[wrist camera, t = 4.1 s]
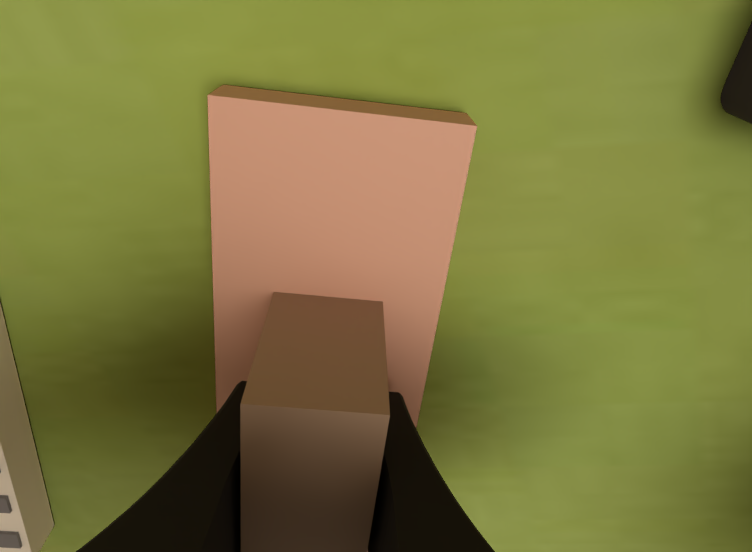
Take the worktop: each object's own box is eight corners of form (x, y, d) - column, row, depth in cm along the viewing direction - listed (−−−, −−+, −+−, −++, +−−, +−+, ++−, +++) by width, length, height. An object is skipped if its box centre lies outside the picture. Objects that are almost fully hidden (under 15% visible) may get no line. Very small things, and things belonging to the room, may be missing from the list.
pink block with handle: (384, 546, 18) (390, 722, 13) (229, 538, 17) (186, 715, 13) (466, 113, 11) (528, 188, 7) (222, 84, 11) (132, 145, 7)
